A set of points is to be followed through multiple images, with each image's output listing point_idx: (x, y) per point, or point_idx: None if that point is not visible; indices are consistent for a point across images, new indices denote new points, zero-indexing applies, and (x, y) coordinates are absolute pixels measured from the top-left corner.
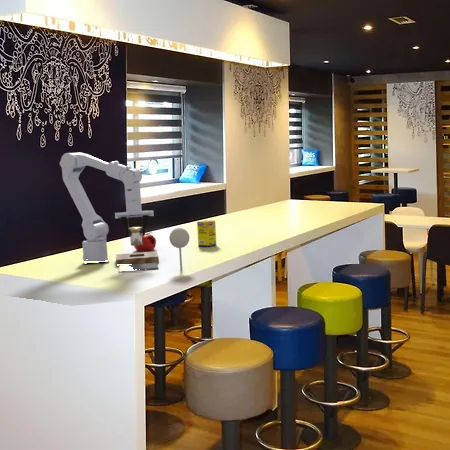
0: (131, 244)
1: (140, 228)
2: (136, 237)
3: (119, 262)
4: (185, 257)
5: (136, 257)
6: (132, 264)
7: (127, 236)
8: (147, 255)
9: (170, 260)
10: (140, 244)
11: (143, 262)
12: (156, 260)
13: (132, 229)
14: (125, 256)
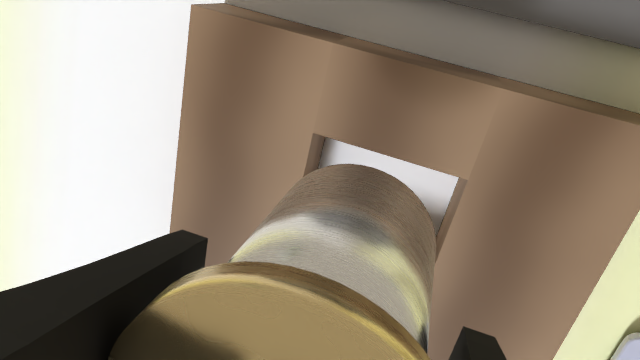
0: (434, 236)
1: (162, 300)
2: (341, 220)
3: (625, 117)
4: (6, 105)
5: (410, 114)
6: (498, 11)
7: (494, 341)
8: (278, 145)
9: (118, 60)
10: (312, 172)
11: (361, 43)
12: (233, 9)
13: (386, 345)
14: (489, 254)
